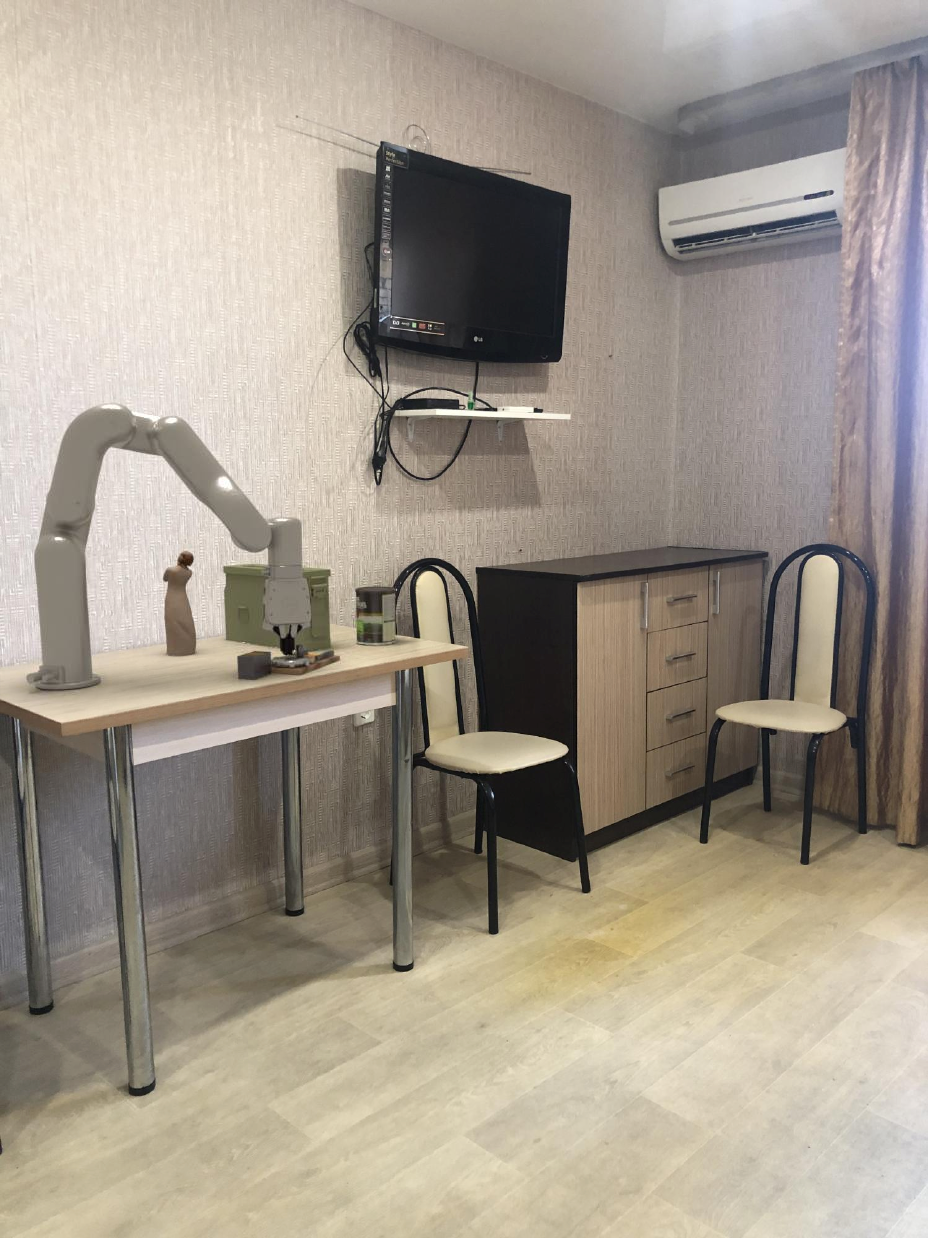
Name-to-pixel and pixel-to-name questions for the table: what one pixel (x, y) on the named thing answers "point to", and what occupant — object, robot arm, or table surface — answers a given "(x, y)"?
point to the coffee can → (375, 615)
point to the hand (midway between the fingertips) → (287, 654)
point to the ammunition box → (248, 607)
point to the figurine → (179, 608)
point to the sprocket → (292, 659)
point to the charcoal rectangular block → (254, 665)
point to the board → (318, 662)
